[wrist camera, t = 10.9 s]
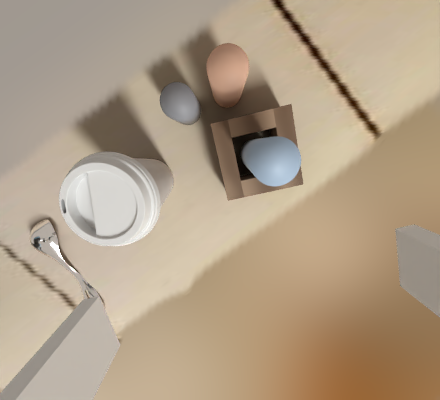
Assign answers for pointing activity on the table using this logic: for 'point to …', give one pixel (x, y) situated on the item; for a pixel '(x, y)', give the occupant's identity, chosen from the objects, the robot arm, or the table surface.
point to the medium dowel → (227, 73)
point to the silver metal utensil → (56, 252)
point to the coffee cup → (114, 197)
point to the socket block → (226, 130)
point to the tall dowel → (271, 159)
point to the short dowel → (180, 103)
